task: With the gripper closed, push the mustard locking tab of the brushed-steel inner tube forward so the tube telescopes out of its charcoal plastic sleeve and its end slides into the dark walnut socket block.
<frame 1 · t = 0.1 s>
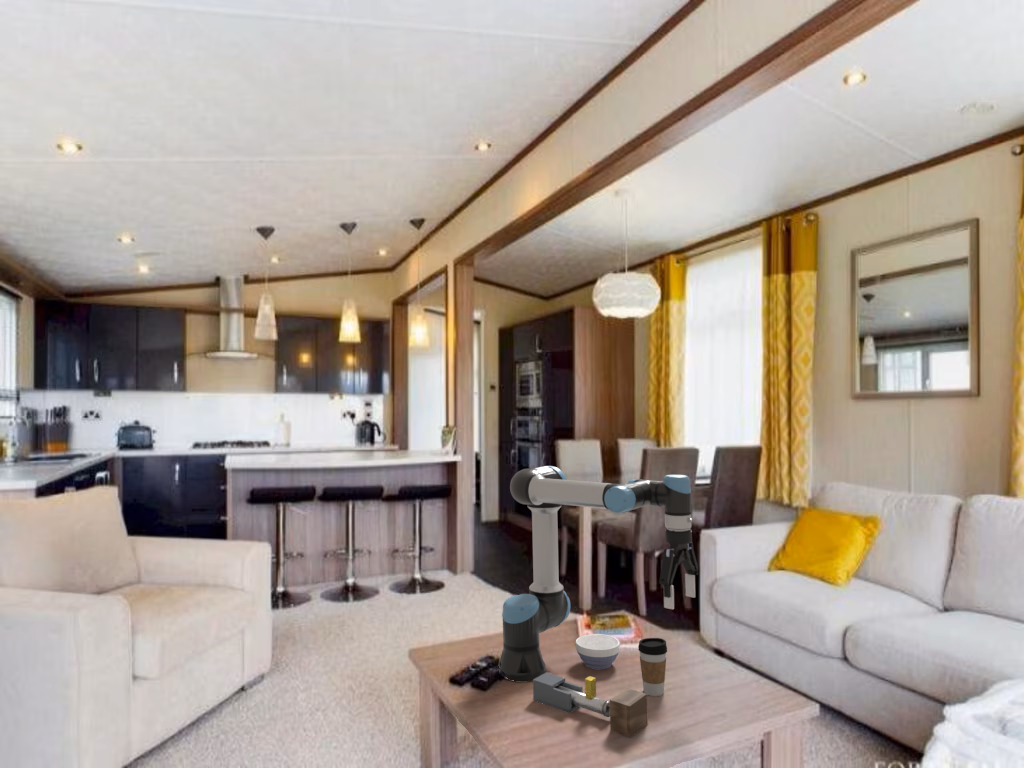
hand: (680, 602, 191), 28 cm above the table, fingers open, 13 cm apart
socket: (625, 726, 176), on the table
sleeve: (559, 702, 190), on the table
tube: (575, 689, 186), point 5 cm above the table, slide at 0.0 cm
bowl: (598, 665, 217), on the table
coffee cup: (653, 692, 196), on the table
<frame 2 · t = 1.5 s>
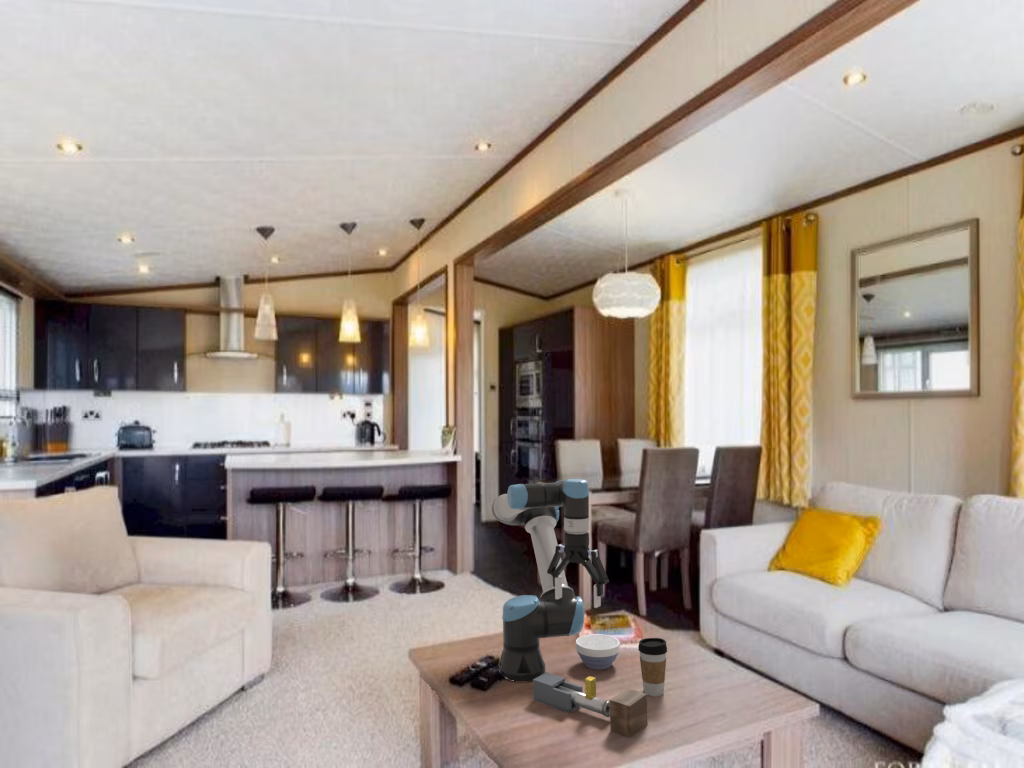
hand: (577, 602, 198), 26 cm above the table, fingers open, 13 cm apart
nothing on the table moved.
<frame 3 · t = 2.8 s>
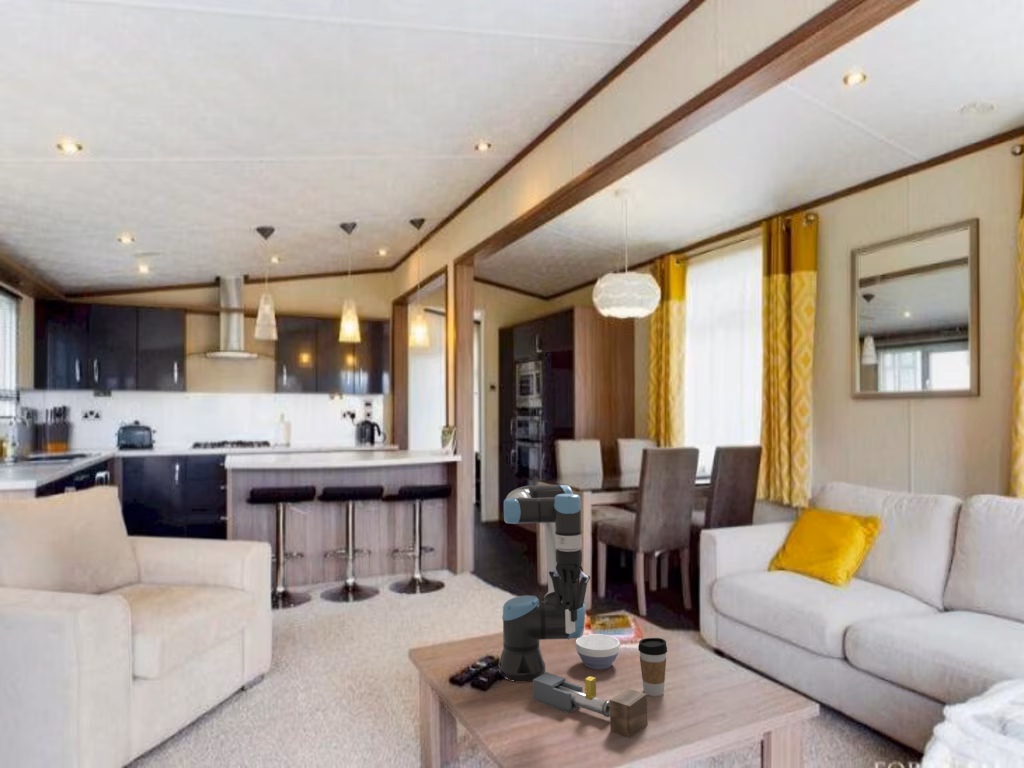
hand: (570, 632, 188), 21 cm above the table, fingers closed
nothing on the table moved.
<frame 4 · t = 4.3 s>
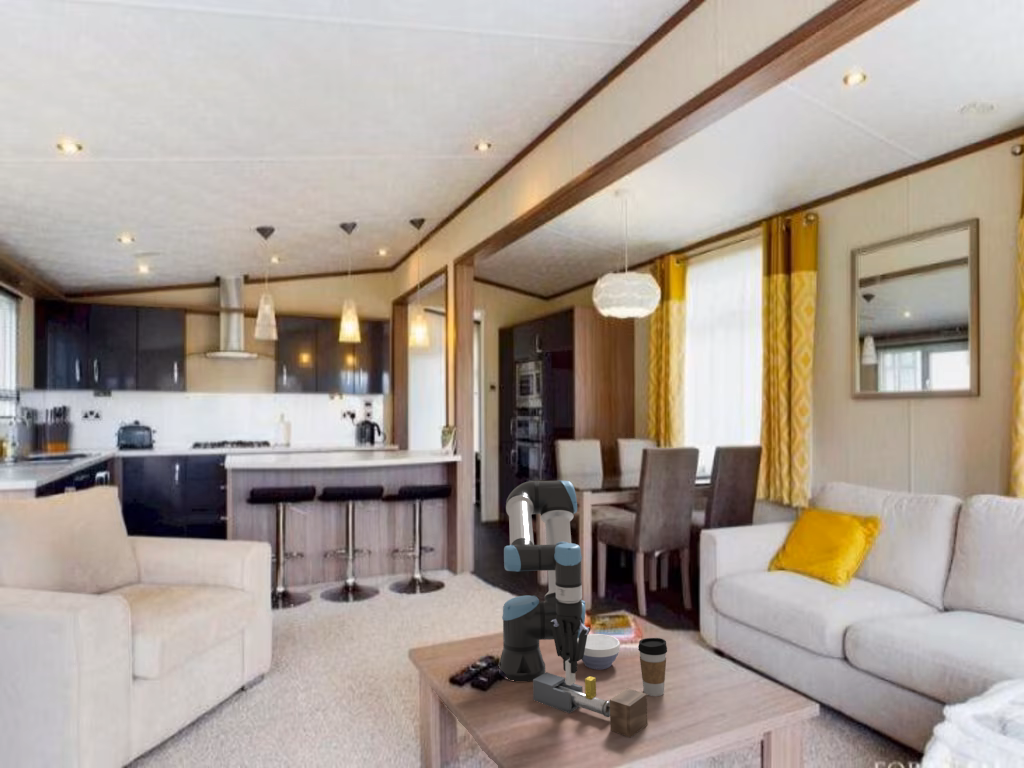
hand: (570, 683, 187), 7 cm above the table, fingers closed
nothing on the table moved.
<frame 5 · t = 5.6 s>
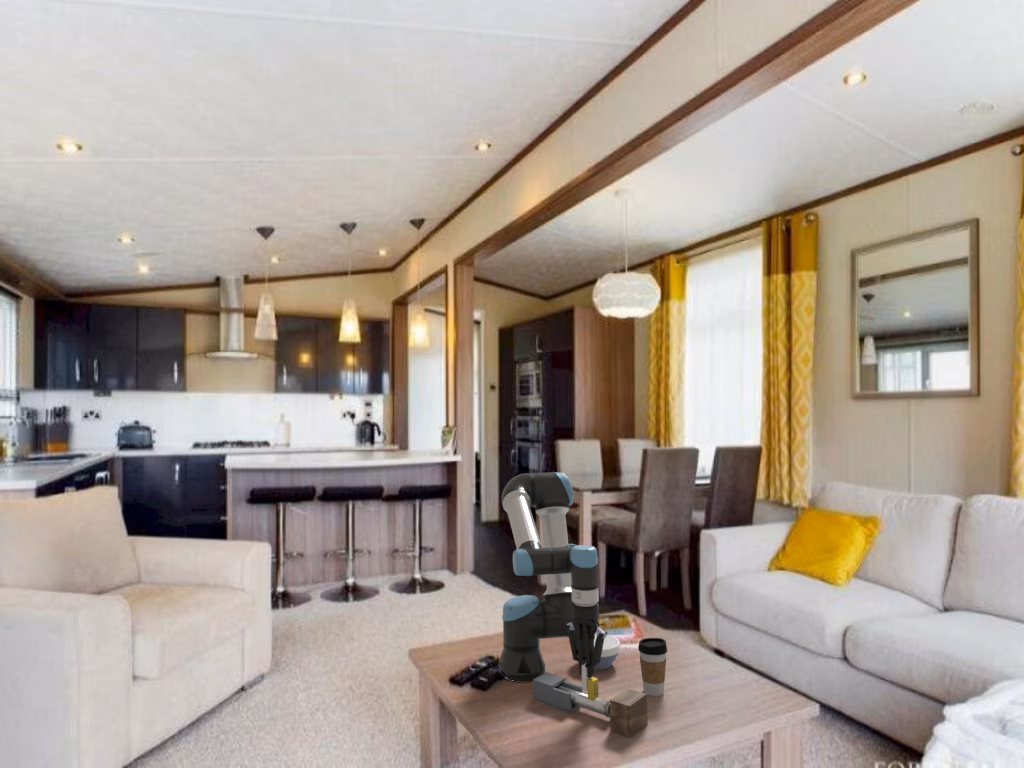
hand: (587, 688, 183), 7 cm above the table, fingers closed
tube: (577, 690, 186), point 5 cm above the table, slide at 0.7 cm, touching gripper
everything else where it was.
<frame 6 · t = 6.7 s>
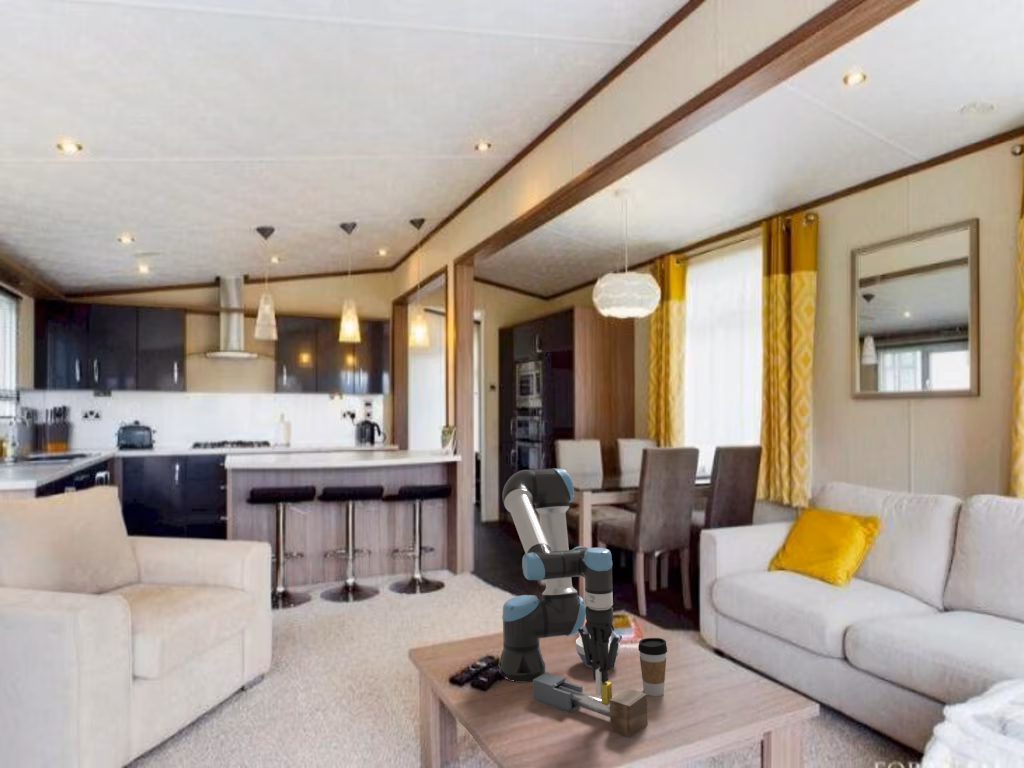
hand: (601, 692, 181), 7 cm above the table, fingers closed
tube: (591, 694, 183), point 5 cm above the table, slide at 5.2 cm, touching gripper
everything else where it was.
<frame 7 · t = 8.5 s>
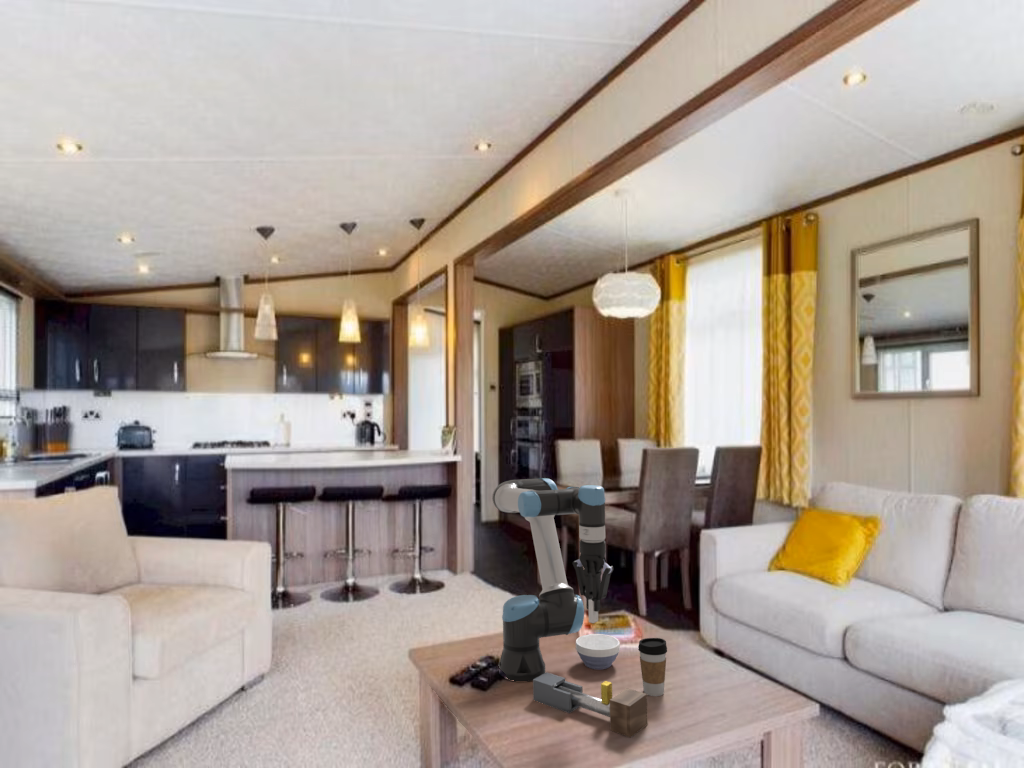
hand: (593, 621, 190), 23 cm above the table, fingers closed
tube: (591, 694, 183), point 5 cm above the table, slide at 5.2 cm
everything else where it was.
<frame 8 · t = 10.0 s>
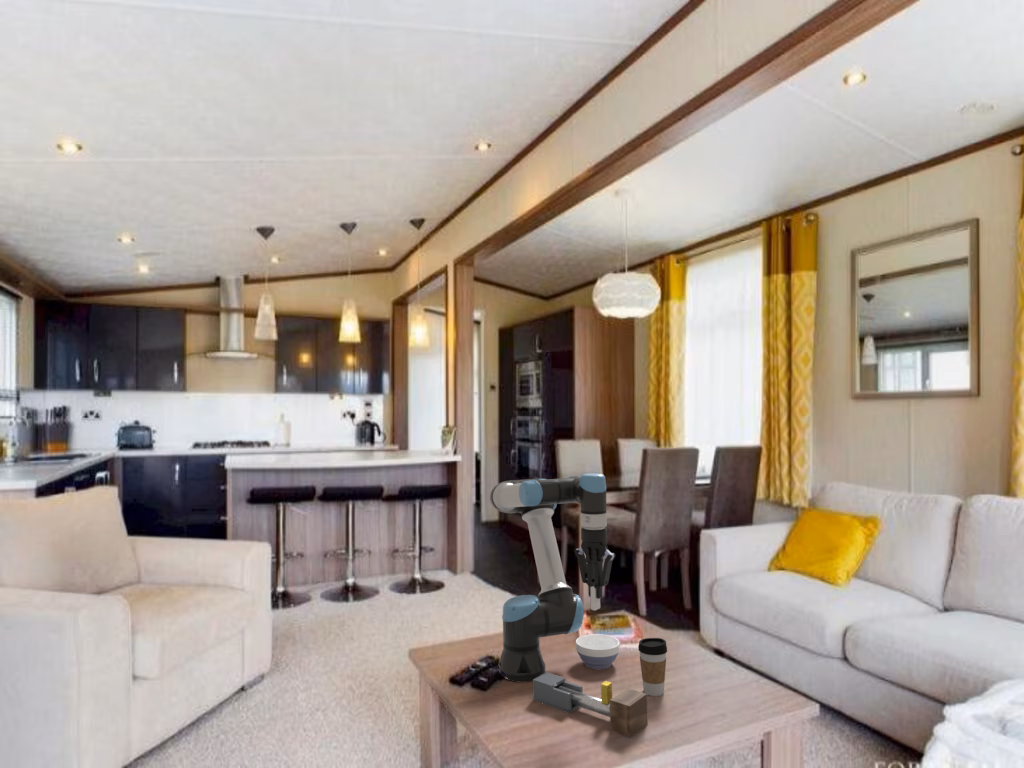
hand: (595, 608, 191), 26 cm above the table, fingers closed
nothing on the table moved.
at the end: tube slide at 5.2 cm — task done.
